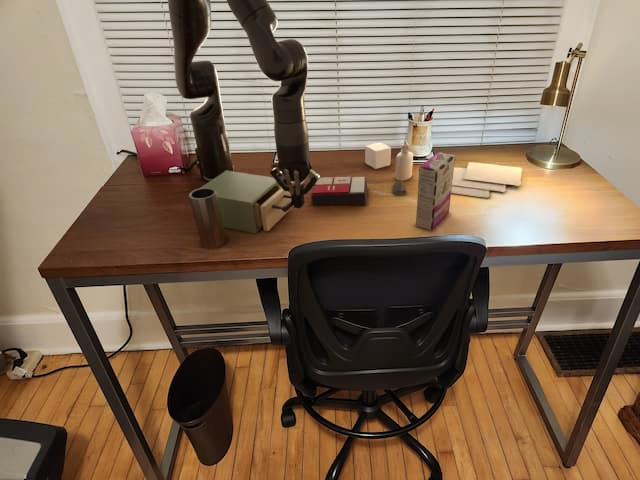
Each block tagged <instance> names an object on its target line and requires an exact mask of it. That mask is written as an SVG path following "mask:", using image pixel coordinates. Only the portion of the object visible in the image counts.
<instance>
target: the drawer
mask: <svg viewBox="0 0 640 480" xmlns="http://www.w3.org/2000/svg"><path fill="white" fill-rule="evenodd" d="M293 207H294V205H293V204H292V199H291V194H290V192H288V191H284V190H283V189H282V188H281V187H280V185H278V184H276V185H275V186H274V187H273V188H272V189H270V190H269V191H268V192H267V193H266V194H265V195H263V196H262V197H261V198H260V199H259V200H257V201H256V202H255V203H254V204H253V208H254V214H255V220H256V226H257V227H261V226H262V225H263V227H262V229H263V231H265V232H269V231H270V230H271V229H272V228H273V227H274V226H275V225H276V224H277V223H278V222H279V221H280V220H281V219H283V217H284V216H285V215H286V214H287V213H288V212H289V211H291V209H292V208H293Z"/></svg>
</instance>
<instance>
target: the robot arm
mask: <svg viewBox="0 0 640 480" xmlns="http://www.w3.org/2000/svg"><path fill="white" fill-rule="evenodd" d="M226 2H227V5H228V7H229V9H230V11H231V12H232V14H233V16H234V17H235V19H236V20H237V22H238V23H239V25H240V26H241V28H242V30H243V31H244V32H245V34H246V36H247V39H248V42H249V44H250V45H249V46H250V47H251V50H252V53H253V56H254V59H255V62H256V64H257V66H258V68H259V70H260V71H261V72H262V74H263V75H264V76H265V77H266V78H267V79H269V80H270V81H273V82H280V85H279V87H278V89H277V90H275V91H274V92H273V93H272V95H271V107H272V115H273V116H272V117H273V133H274V140H275V148H276V149H275V151H276V157H277V160H278V161H277V166H276V167H274V168H273V169H272V170H270V172H269V174H270V175H271V177H272V178H274V179H275V180H276V181H277V183H278V184H279V185H280V186H281V188H282V189H283V190H284V191H288V192H290V194H291V199H292V204H293V208H294V209H299V210H300V209H302V207H303V206H304V205H305V202H306V201H305V195H307V194H308V193H309V192H310V191H311V190H313V187H314V185H315V183H316V182H317V181H318V180H319V178H322V174H321V173H320V172H316V171H314V170H313V165H312V164H311V161H310V160H311V159H310V158H311V153H310V141H309V138H310V137H309V135H310V134H309V130H308V123H307V118H306V105H305V95H306V90H307V83H308V76H309V58H308V53H307V50H306V49H305V46H304V45H303V44H302V43H301V42H300V41H299V40H296V39H295V38H289V39H284V40H280V41H277V39H276V38H275V36H274V34H273V33H274V32H275V31H276V30H277V28H278V26H279V25H278V23H279V21H278V17H277V15H276V13H275V11H274V10H273V8H272V7H271V4H270V3H269V1H267V0H226ZM167 5H168V7H167V8H168V13H169V15H168V16H169V21H170V27H171V34H172V41H173V43H172V44H173V59H174V62H173V64H174V78H175V84H176V89H177V90H178V93H179V95H180V96H181V97H182V98H183V99H185V100H197V99H204V98H206V99H205V101H204V102H203V103H202V104H201V105H200V106H198V107H196V108H195V109H193V110H192V111H191V112H190V114H189V118H190V123H191V127H192V131H193V135H194V140H195V144H196V147H195V148H194V152H195V156H196V158H195V160H194V161H192V162H191V164H190V166H184V167H185V169H183V170H185V171H190V170H192V169H193V168H194V167H195V165H196V169H198V170H199V174H200V178H201V179H203V180H204V181H206V182H207V183H208V182H210V181H211V180H213V179H214V178H216V177H217V176H219V175H220V174H222V173H223V172H225V171H226V170H227V171H233V172H235V171H234V170H235V166H234V163H233V159H232V155H231V154H232V153H231V149H230V143H229V139H228V132H227V128H226V122H225V116H224V110H223V105H222V104H223V103H222V98H221V90H220V83H219V77H218V76H219V75H218V72H217V69H216V67H215V65H214V63H213V62H212V61H211V60H198V61H197V60H196V61H193V59H194V58H195V55H196V54H197V53H198V51H199V50H200V49H201V47H202V46H203V44H204V43H205V41H207V38H208V37H209V36H210V32H211V29H212V3H211V0H167ZM120 150H121V151H120V152H118V151H116V155H118V156H119V155H120V154H121V153H124V154H125V153H126V154H128V155H132V156H135V157H137V158H139V157H138V156H137V154H138V153H137V152H134V151H131V150H128V149H120ZM307 178H308V182H307V183H306V179H307ZM305 183H306V184H305Z"/></svg>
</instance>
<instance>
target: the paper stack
mask: <svg viewBox="0 0 640 480" xmlns="http://www.w3.org/2000/svg"><path fill="white" fill-rule="evenodd" d="M522 170H523V168H522V167H516V166H509V165H508V166H507V165H501V164H490V163H482V162H473V161H471V162H470V161H468V164H467V167H458V166H454V170H453V180H452V188H451V194H456V195H462V196H463V195H464V196H472V197H476V198H477V197H479V198H485V199H489V197H490V192H491V191H492V192H493V191H495V192H503V193H506V188H507V185H509V186H518V187H521V184H522V173H523V172H522Z"/></svg>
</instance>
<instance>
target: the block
mask: <svg viewBox="0 0 640 480" xmlns="http://www.w3.org/2000/svg"><path fill="white" fill-rule="evenodd" d="M392 193H393V194H394V195H398V196H400V195H404V194H406V193H407V191H406V186H405V182H404V181H399V180H396V181H395V182H394V183H393V191H392ZM393 194H392V195H393Z"/></svg>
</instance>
